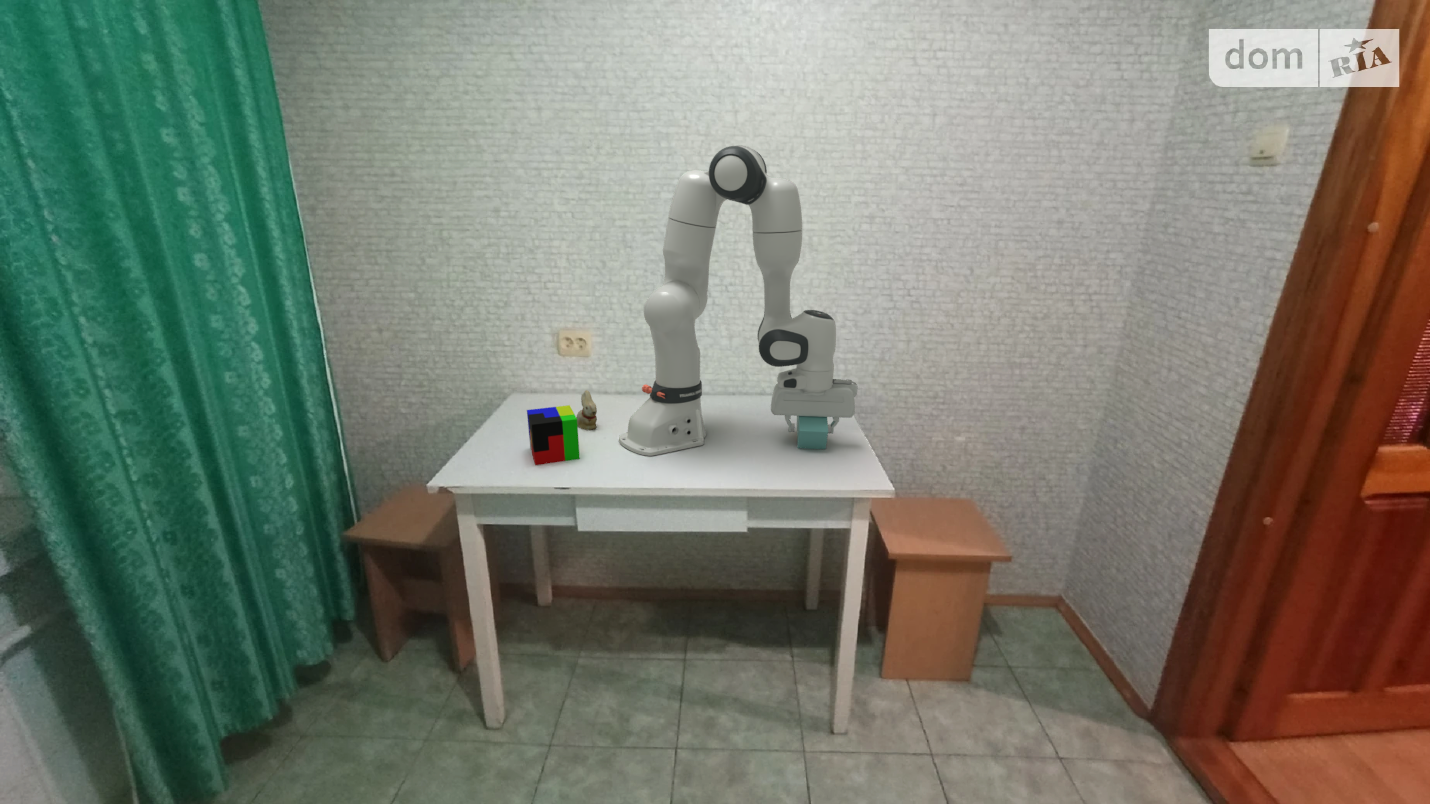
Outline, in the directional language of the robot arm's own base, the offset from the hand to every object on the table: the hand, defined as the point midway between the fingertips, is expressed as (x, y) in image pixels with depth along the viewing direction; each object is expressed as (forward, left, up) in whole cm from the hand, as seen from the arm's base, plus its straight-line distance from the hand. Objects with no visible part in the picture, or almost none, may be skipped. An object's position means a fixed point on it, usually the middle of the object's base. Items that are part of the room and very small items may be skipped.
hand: (810, 432), depth 155 cm
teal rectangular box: (+1, +1, -1) cm, 2 cm away
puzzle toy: (-52, +35, -4) cm, 62 cm away
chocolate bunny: (-37, +46, -4) cm, 58 cm away
